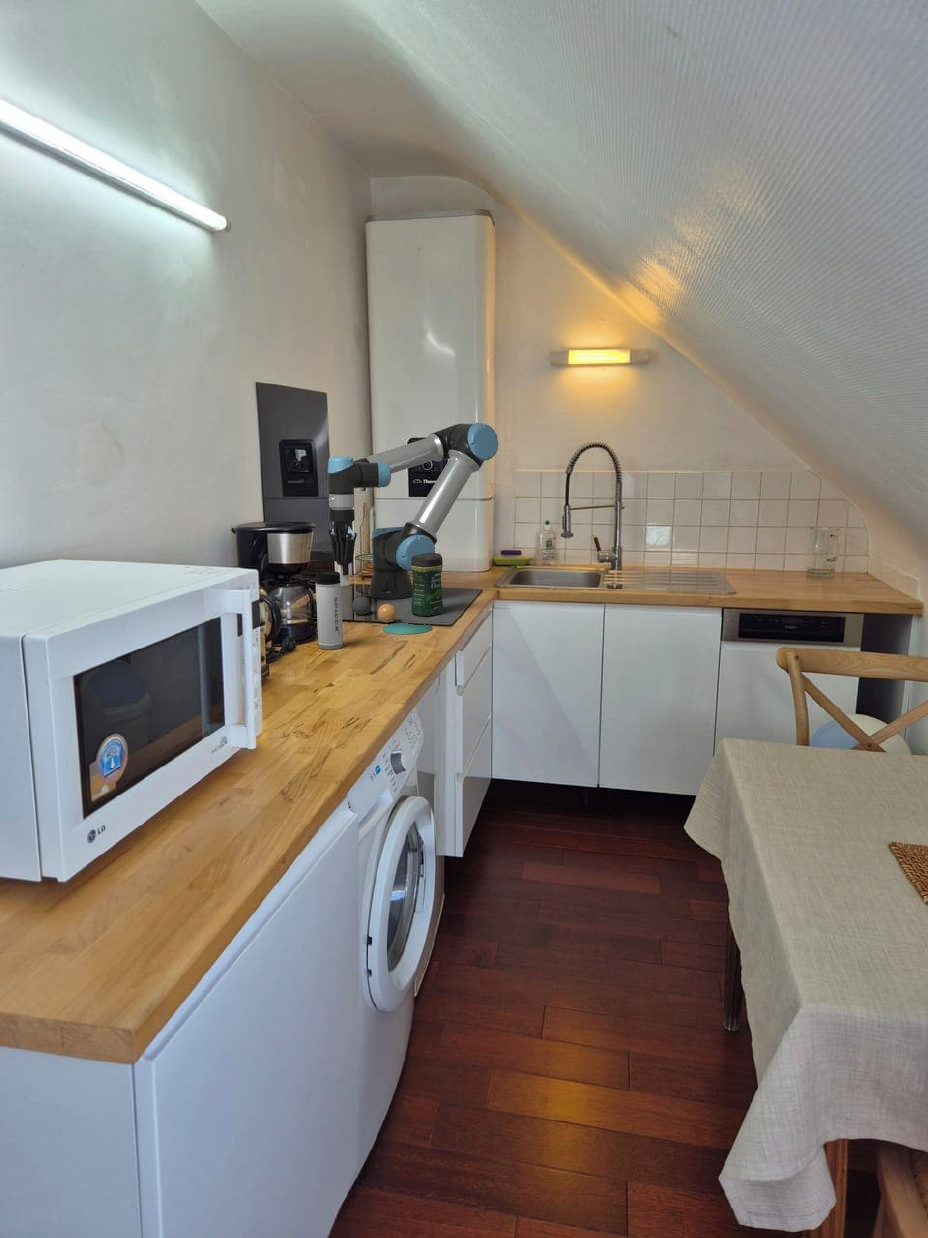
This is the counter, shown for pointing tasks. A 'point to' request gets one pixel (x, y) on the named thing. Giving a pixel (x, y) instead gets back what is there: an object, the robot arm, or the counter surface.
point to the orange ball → (387, 613)
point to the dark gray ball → (361, 605)
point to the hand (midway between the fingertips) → (343, 585)
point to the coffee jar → (427, 584)
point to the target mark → (406, 628)
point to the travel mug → (329, 609)
